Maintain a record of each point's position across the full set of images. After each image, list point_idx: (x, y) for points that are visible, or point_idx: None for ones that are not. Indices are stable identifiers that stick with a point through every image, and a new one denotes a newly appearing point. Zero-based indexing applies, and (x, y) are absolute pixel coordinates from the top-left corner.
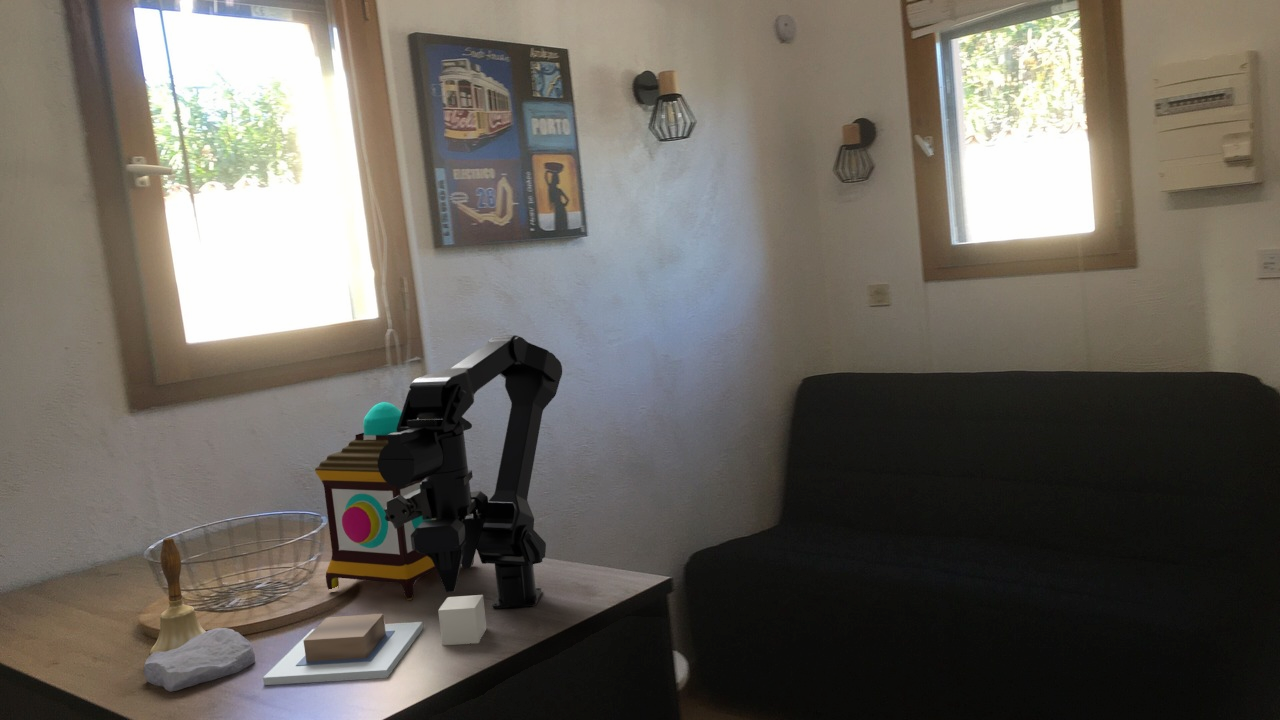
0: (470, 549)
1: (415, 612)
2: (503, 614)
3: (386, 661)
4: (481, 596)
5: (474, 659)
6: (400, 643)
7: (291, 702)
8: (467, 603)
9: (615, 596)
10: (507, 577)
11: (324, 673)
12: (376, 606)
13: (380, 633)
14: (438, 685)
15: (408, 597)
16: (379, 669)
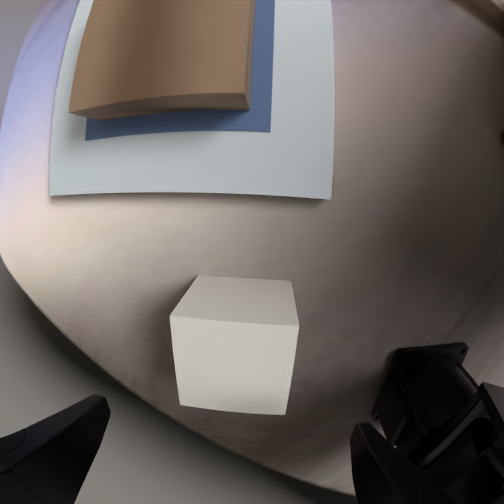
0: (365, 502)
1: (441, 157)
2: (357, 374)
3: (79, 179)
4: (272, 413)
5: (124, 347)
6: (172, 175)
7: (25, 70)
8: (218, 389)
9: None
10: (401, 430)
11: (60, 71)
12: (477, 68)
13: (205, 106)
14: (42, 296)
15: (502, 136)
16: (52, 179)
